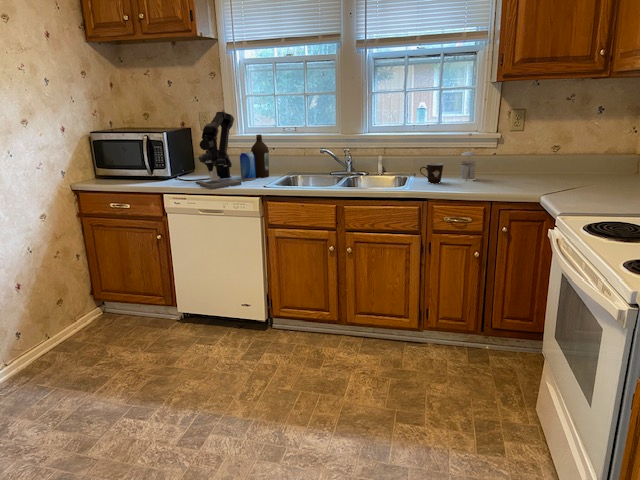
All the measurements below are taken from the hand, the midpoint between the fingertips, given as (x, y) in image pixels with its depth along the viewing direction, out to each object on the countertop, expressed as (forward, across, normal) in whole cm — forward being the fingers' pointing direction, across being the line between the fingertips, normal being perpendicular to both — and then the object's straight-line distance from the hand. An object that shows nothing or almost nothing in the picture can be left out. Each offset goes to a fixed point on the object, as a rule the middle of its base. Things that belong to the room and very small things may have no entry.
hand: (214, 175), depth 278 cm
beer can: (+4, +9, +17) cm, 20 cm away
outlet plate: (+4, +14, -4) cm, 15 cm away
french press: (+4, +102, +100) cm, 143 cm away
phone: (+4, +2, -10) cm, 10 cm away
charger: (+4, 0, 0) cm, 4 cm away
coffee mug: (+4, +93, +80) cm, 123 cm away
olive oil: (+4, +6, +28) cm, 29 cm away
